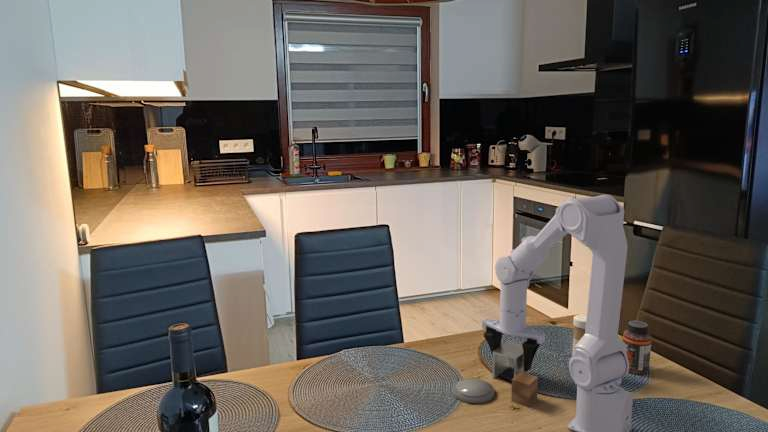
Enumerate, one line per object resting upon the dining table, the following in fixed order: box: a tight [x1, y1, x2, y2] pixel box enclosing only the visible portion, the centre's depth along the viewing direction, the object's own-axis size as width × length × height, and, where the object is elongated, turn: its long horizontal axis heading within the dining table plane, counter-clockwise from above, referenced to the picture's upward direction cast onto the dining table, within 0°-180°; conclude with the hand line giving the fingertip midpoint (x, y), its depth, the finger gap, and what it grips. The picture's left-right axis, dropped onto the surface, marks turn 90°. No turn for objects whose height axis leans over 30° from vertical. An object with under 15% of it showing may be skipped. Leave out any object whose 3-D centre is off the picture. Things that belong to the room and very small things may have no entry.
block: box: [510, 372, 539, 408], centre depth 112 cm, size 4×4×5 cm
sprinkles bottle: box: [571, 314, 587, 357], centre depth 122 cm, size 5×5×14 cm
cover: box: [491, 340, 531, 379], centre depth 122 cm, size 6×7×6 cm
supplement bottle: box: [622, 320, 652, 375], centre depth 124 cm, size 6×6×11 cm
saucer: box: [451, 378, 495, 405], centre depth 116 cm, size 9×9×1 cm
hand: (511, 364), depth 122 cm, fingers open, 7 cm apart
